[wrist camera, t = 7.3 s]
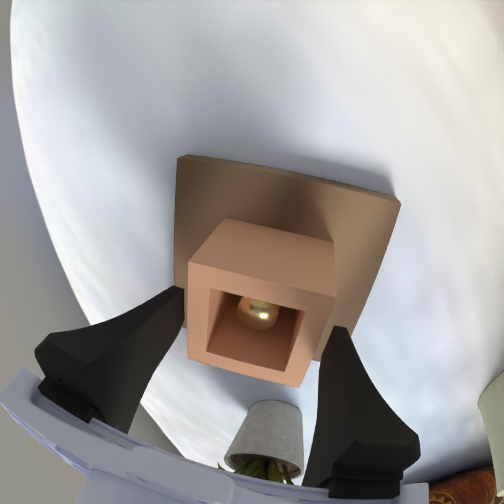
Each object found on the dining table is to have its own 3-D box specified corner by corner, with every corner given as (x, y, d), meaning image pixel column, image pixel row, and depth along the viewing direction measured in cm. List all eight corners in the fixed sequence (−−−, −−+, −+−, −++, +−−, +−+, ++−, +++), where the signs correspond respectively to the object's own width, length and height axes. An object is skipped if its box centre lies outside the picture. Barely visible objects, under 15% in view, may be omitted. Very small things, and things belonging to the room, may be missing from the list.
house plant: (168, 387, 27) (100, 517, 13) (266, 339, 21) (195, 560, 7) (260, 449, 30) (227, 562, 16) (362, 420, 24) (349, 574, 10)
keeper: (395, 197, 15) (421, 230, 10) (336, 353, 20) (335, 404, 16) (186, 154, 16) (142, 171, 12) (181, 315, 22) (154, 357, 18)
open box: (333, 242, 15) (336, 297, 11) (307, 326, 18) (299, 387, 14) (225, 217, 16) (188, 261, 12) (216, 303, 19) (187, 358, 15)
